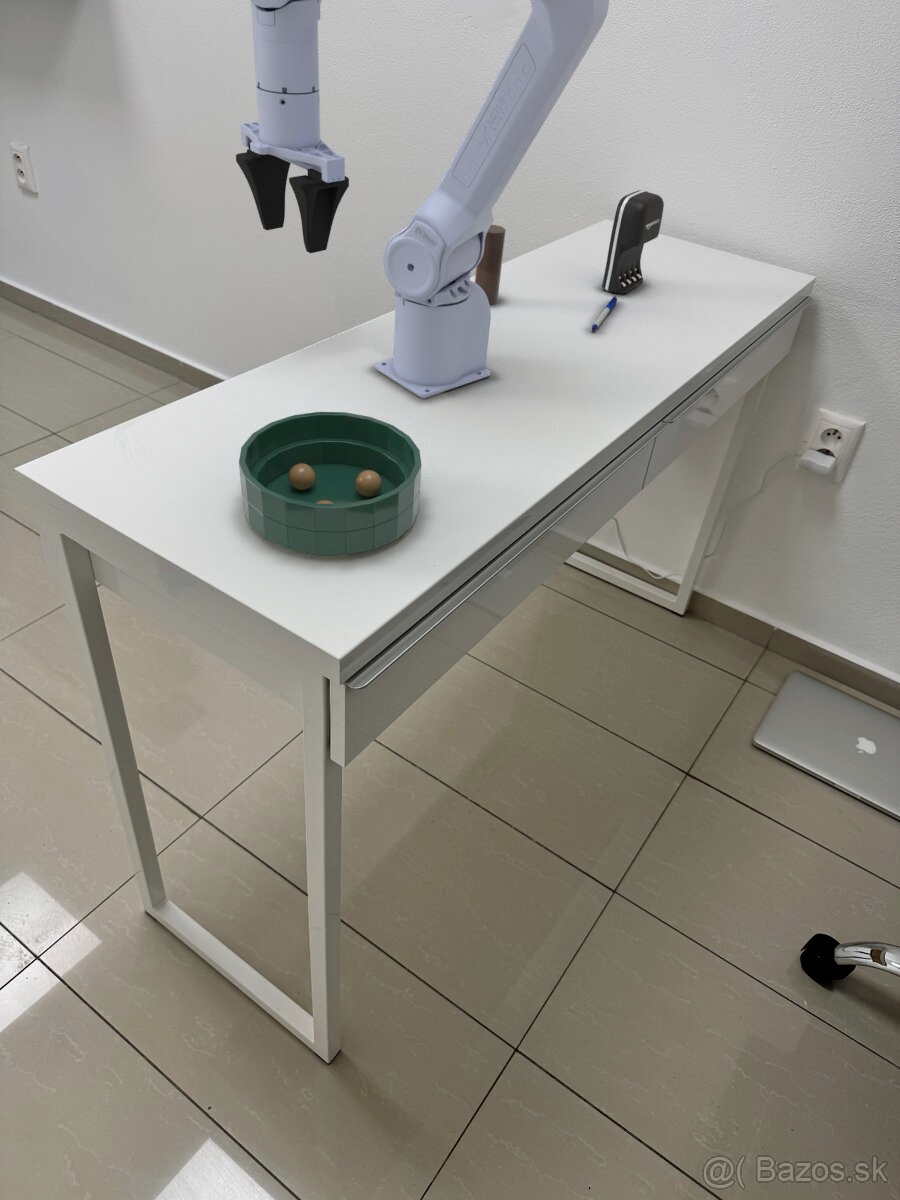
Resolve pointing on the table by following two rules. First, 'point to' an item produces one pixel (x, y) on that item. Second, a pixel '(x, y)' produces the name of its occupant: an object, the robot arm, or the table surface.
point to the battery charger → (631, 239)
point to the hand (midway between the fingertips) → (294, 239)
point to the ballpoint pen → (604, 313)
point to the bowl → (330, 483)
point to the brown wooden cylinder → (491, 263)
